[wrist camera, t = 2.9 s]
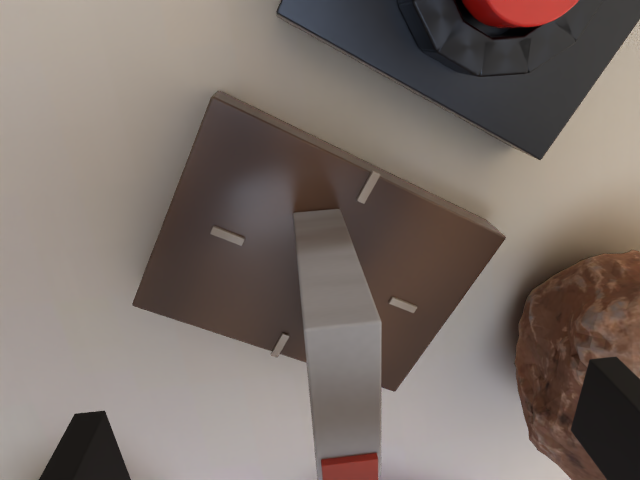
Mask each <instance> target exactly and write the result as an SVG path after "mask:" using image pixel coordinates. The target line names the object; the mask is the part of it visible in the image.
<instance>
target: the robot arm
mask: <svg viewBox="0 0 640 480" xmlns="http://www.w3.org/2000/svg"><path fill="white" fill-rule="evenodd" d="M571 432H572V433H573V434H574V436H575V437H576V438H577V440H578V441H579V442H580V444H581V445H582V447H583V448H584V449H585V451H586V452H587V453H588V455H589V456H590V457H591V459H592V460H593V461H594V463H595V464H596V466H597V467H598V468H599V470H600V471H601V472H602V474H603V475H604V476H605V478H606V479H607V480H640V379H639V378H638V377H637V376H636V375H635V374H634V373H633V372H632V371H631V370H630V369H629V368H628V367H627V366H626V365H625V364H624V363H623V362H622V361H621V360H619V359H618V358H617V357H606V358H597V359H590V360H589V364H588V367H587V371H586V375H585V378H584V382H583V386H582V389H581V393H580V397H579V401H578V404H577V408H576V412H575V415H574V419H573V423H572V426H571ZM39 480H131V479H130V476H129V474H128V471H127V468H126V466H125V463H124V460H123V458H122V455H121V452H120V450H119V447H118V444H117V442H116V439H115V436H114V434H113V431H112V428H111V426H110V423H109V420H108V418H107V415H106V412H105V411H98V412H88V413H79V414H75V415H74V416H73V418H72V420H71V422H70V424H69V426H68V427H67V429H66V431H65V433H64V435H63V437H62V438H61V440H60V442H59V444H58V446H57V448H56V449H55V451H54V453H53V455H52V457H51V459H50V460H49V462H48V464H47V466H46V468H45V470H44V471H43V473H42V475H41V477H40V479H39Z"/></svg>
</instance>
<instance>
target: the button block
mask: <svg viewBox="0 0 640 480" xmlns="http://www.w3.org/2000/svg"><path fill="white" fill-rule="evenodd" d="M277 17H279V18H281V19H283V20H284V21H286V22H288V23H290V24H292V25H293V26H295V27H297V28H299V29H301V30H302V31H304V32H306V33H308V34H310V35H311V36H313V37H315V38H317V39H319V40H320V41H322V42H324V43H326V44H328V45H329V46H331V47H333V48H335V49H337V50H339V51H340V52H342V53H344V54H346V55H348V56H349V57H351V58H353V59H355V60H357V61H358V62H360V63H362V64H364V65H366V66H367V67H369V68H371V69H373V70H375V71H376V72H378V73H380V74H382V75H384V76H385V77H387V78H389V79H391V80H393V81H394V82H396V83H398V84H400V85H402V86H403V87H405V88H407V89H409V90H411V91H412V92H414V93H416V94H418V95H420V96H421V97H423V98H425V99H427V100H429V101H431V102H432V103H434V104H436V105H438V106H440V107H441V108H443V109H445V110H447V111H449V112H450V113H452V114H454V115H456V116H458V117H459V118H461V119H463V120H465V121H467V122H468V123H470V124H472V125H474V126H476V127H477V128H479V129H481V130H483V131H485V132H486V133H488V134H490V135H492V136H494V137H495V138H497V139H499V140H501V141H503V142H504V143H506V144H508V145H510V146H512V147H513V148H515V149H518V150H520V151H522V152H524V153H526V154H528V155H530V156H532V157H535V158H537V159H539V160H541V159H542V158H543V156H544V155H545V153H546V152H547V151H548V149H549V148H550V146H551V145H552V143H553V142H554V141H555V139H556V138H557V136H558V135H559V133H560V132H561V131H562V129H563V128H564V126H565V125H566V123H567V122H568V121H569V119H570V118H571V116H572V115H573V114H574V112H575V111H576V109H577V108H578V106H579V105H580V104H581V102H582V101H583V99H584V98H585V96H586V95H587V94H588V92H589V91H590V89H591V88H592V86H593V85H594V84H595V82H596V81H597V79H598V78H599V76H600V75H601V74H602V72H603V71H604V69H605V68H606V66H607V65H608V64H609V62H610V61H611V59H612V58H613V56H614V55H615V54H616V52H617V51H618V49H619V48H620V47H621V45H622V44H623V42H624V41H625V39H626V38H627V37H628V35H629V34H630V32H631V31H632V29H633V28H634V27H635V25H636V24H637V22H638V21H639V19H640V0H579V1H578V2H577V3H576V4H575V5H574V6H573V7H572V8H571V9H570V10H569V11H568V12H566V13H565V14H564V15H562V16H561V17H559V18H557V19H556V20H554V21H552V22H549V23H547V24H544V25H540V26H536V27H521V28H496V27H491V26H488V25H485V24H483V23H481V22H479V21H478V20H477V19H475V18H474V17H473V16H472V15H471V14H470V13H469V11H468V10H467V9H466V7H465V6H464V4H463V2H462V0H281V2H280V4H279V7H278V9H277Z"/></svg>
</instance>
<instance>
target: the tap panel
mask: <svg viewBox="0 0 640 480" xmlns="http://www.w3.org/2000/svg"><path fill="white" fill-rule="evenodd" d="M331 209H340V211H341V213H342V216H343V219H344V221H345V224H346V227H347V230H348V232H349V235H350V238H351V240H352V243H353V246H354V249H355V251H356V254H357V257H358V260H359V262H360V265H361V268H362V270H363V273H364V276H365V279H366V281H367V284H368V287H369V289H370V292H371V295H372V298H373V300H374V303H375V306H376V308H377V311H378V314H379V317H380V319H381V322H382V337H381V387H383V388H386V389H389V390H392V391H396V390H397V388H398V387H399V385H400V384H401V383H402V381H403V380H404V379H405V377H406V376H407V374H408V373H409V372H410V370H411V369H412V367H413V366H414V365H415V363H416V362H417V360H418V359H419V358H420V356H421V355H422V354H423V352H424V351H425V349H426V348H427V347H428V345H429V344H430V342H431V341H432V340H433V338H434V337H435V335H436V334H437V333H438V331H439V330H440V329H441V327H442V326H443V324H444V323H445V322H446V320H447V319H448V317H449V316H450V315H451V313H452V312H453V311H454V309H455V308H456V306H457V305H458V304H459V302H460V301H461V299H462V298H463V297H464V295H465V294H466V292H467V291H468V290H469V288H470V287H471V286H472V284H473V283H474V281H475V280H476V279H477V277H478V276H479V274H480V273H481V272H482V270H483V269H484V267H485V266H486V265H487V263H488V262H489V261H490V259H491V258H492V256H493V255H494V254H495V252H496V251H497V249H498V248H499V247H500V245H501V244H502V243H503V241H504V240H505V238H506V237H505V236H504V235H503V234H502V233H501V232H500V231H499V230H497V229H496V228H495V227H494V226H493V225H492V224H491V223H489V222H488V221H487V220H485V219H483V218H481V217H479V216H477V215H475V214H473V213H471V212H469V211H467V210H465V209H463V208H460V207H458V206H456V205H454V204H452V203H450V202H448V201H446V200H444V199H442V198H440V197H438V196H436V195H434V194H432V193H430V192H428V191H425V190H423V189H421V188H419V187H417V186H415V185H413V184H411V183H409V182H407V181H405V180H403V179H401V178H399V177H397V176H395V175H393V174H390V173H388V172H386V171H384V170H382V169H380V168H378V167H376V166H374V165H372V164H370V163H368V162H366V161H364V160H362V159H360V158H358V157H355V156H353V155H351V154H349V153H347V152H345V151H343V150H341V149H339V148H337V147H335V146H333V145H331V144H329V143H327V142H325V141H323V140H320V139H318V138H316V137H314V136H312V135H310V134H308V133H306V132H304V131H302V130H300V129H298V128H296V127H294V126H292V125H290V124H287V123H285V122H283V121H281V120H279V119H277V118H275V117H273V116H271V115H269V114H267V113H265V112H263V111H261V110H259V109H257V108H255V107H252V106H250V105H248V104H246V103H244V102H242V101H240V100H238V99H236V98H234V97H232V96H230V95H228V94H226V93H224V92H222V91H217V92H216V93H215V94H214V95H213V96H212V97H211V99H210V102H209V104H208V107H207V110H206V112H205V115H204V118H203V120H202V123H201V125H200V128H199V131H198V133H197V136H196V138H195V141H194V144H193V146H192V149H191V152H190V154H189V157H188V159H187V162H186V165H185V167H184V170H183V172H182V175H181V178H180V180H179V183H178V186H177V188H176V191H175V193H174V196H173V199H172V201H171V204H170V207H169V209H168V212H167V214H166V217H165V220H164V222H163V225H162V227H161V230H160V233H159V235H158V238H157V241H156V243H155V246H154V248H153V251H152V254H151V256H150V259H149V261H148V264H147V267H146V269H145V272H144V275H143V277H142V280H141V282H140V285H139V288H138V290H137V293H136V295H135V298H134V301H133V303H132V304H133V306H135V307H138V308H141V309H144V310H147V311H151V312H154V313H157V314H160V315H163V316H166V317H169V318H172V319H175V320H178V321H181V322H184V323H187V324H190V325H193V326H196V327H199V328H202V329H205V330H209V331H212V332H215V333H218V334H221V335H224V336H227V337H230V338H233V339H236V340H239V341H242V342H245V343H248V344H251V345H254V346H257V347H260V348H263V349H267V350H270V351H272V352H271V356H274V357H278V356H279V354H282V355H285V356H288V357H291V358H294V359H297V360H300V361H303V362H306V363H307V361H306V351H305V340H304V329H303V318H302V307H301V297H300V286H299V275H298V264H297V253H296V243H295V232H294V221H293V213H297V212H308V211H319V210H331Z"/></svg>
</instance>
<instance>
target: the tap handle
mask: <svg viewBox="0 0 640 480" xmlns="http://www.w3.org/2000/svg"><path fill="white" fill-rule="evenodd" d="M293 221H294V232H295V243H296V253H297V264H298V275H299V286H300V297H301V307H302V318H303V329H304V340H305V351H306V361H307V372H308V383H309V393H310V404H311V415H312V426H313V436H314V447H315V458H316V469H317V479H318V480H378V477H380V476H381V337H382V322H381V319H380V317H379V314H378V311H377V308H376V306H375V303H374V300H373V298H372V295H371V292H370V289H369V287H368V284H367V281H366V279H365V276H364V273H363V270H362V268H361V265H360V262H359V260H358V257H357V254H356V251H355V249H354V246H353V243H352V240H351V238H350V235H349V232H348V230H347V227H346V224H345V221H344V219H343V216H342V213H341V211H340V209H331V210H319V211H308V212H297V213H293Z"/></svg>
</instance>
